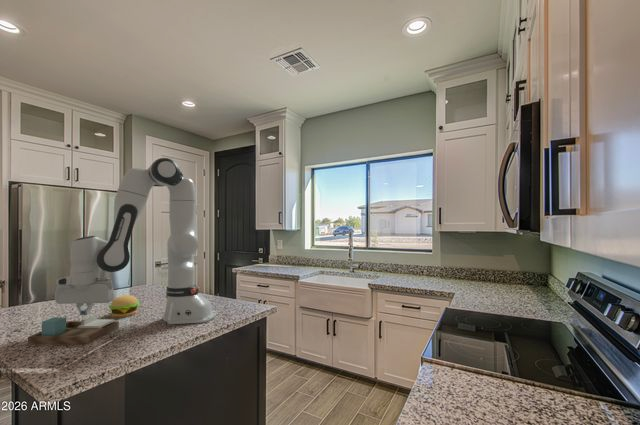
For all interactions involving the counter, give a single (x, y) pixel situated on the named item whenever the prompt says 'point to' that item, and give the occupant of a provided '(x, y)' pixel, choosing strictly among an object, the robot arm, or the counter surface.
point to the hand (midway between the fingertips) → (85, 314)
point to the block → (53, 326)
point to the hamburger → (124, 306)
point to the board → (73, 335)
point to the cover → (94, 322)
